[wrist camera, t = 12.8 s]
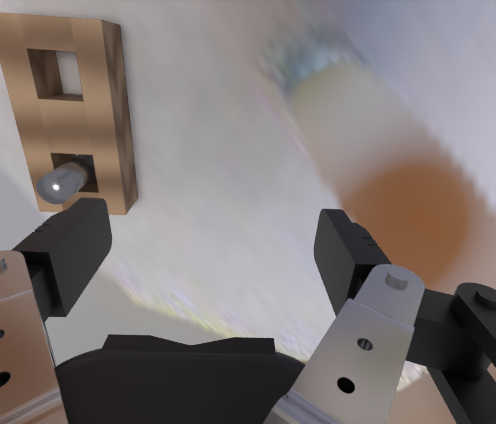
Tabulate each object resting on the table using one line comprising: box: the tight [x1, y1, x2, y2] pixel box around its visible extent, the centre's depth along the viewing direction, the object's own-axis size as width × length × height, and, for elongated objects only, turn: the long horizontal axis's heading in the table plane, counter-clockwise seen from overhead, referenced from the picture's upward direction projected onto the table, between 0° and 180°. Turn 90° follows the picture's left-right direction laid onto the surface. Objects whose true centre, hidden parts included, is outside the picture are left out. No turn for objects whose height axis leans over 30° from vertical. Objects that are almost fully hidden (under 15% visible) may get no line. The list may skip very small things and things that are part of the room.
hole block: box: [0, 12, 138, 215], centre depth 35 cm, size 20×10×5 cm, turn 176°
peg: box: [36, 154, 96, 204], centre depth 35 cm, size 3×3×10 cm
